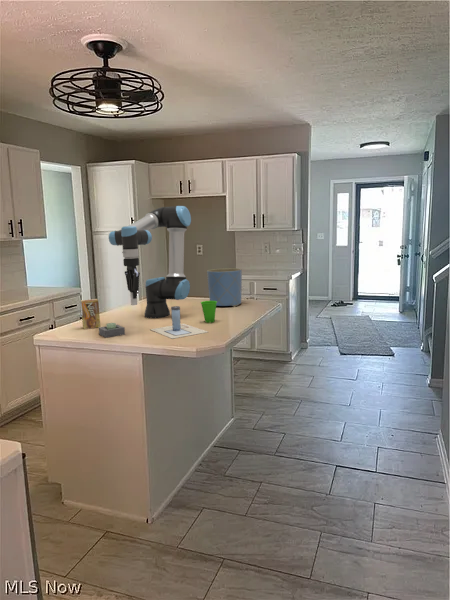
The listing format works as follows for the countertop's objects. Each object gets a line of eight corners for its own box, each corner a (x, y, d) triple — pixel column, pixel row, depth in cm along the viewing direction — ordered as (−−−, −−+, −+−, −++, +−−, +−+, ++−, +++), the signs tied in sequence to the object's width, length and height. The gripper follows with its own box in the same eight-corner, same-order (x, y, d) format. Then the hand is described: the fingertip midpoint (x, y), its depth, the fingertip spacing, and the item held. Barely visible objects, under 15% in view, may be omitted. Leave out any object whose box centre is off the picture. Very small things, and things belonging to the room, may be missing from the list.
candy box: (99, 325, 254) (96, 298, 251) (100, 327, 250) (98, 299, 248) (82, 328, 250) (80, 300, 248) (84, 329, 246) (81, 301, 244)
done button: (105, 331, 232) (105, 323, 231) (114, 330, 235) (113, 322, 234) (108, 332, 228) (108, 325, 228) (117, 331, 231) (117, 323, 230)
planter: (205, 308, 296) (203, 272, 292) (212, 302, 318) (210, 268, 314) (240, 307, 292) (239, 271, 288) (244, 301, 314) (243, 267, 310)
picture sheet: (149, 329, 238) (149, 329, 238) (183, 324, 249) (183, 323, 249) (172, 338, 217) (172, 338, 217) (208, 332, 227) (208, 331, 227)
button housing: (99, 334, 233) (98, 327, 233) (118, 331, 238) (117, 324, 238) (105, 337, 225) (104, 330, 224) (125, 334, 230) (124, 327, 230)
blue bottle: (170, 330, 234) (169, 307, 232) (178, 328, 236) (176, 305, 235) (175, 331, 230) (173, 308, 228) (182, 330, 233) (181, 306, 231)
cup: (216, 323, 248) (215, 303, 246) (199, 323, 250) (198, 303, 248) (219, 319, 257) (218, 300, 255) (203, 319, 258) (202, 300, 257)
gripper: (118, 257, 229) (122, 304, 233) (129, 258, 219) (132, 307, 222) (132, 256, 234) (135, 302, 237) (143, 257, 223) (146, 305, 227)
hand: (134, 304), depth 230 cm, fingers closed
